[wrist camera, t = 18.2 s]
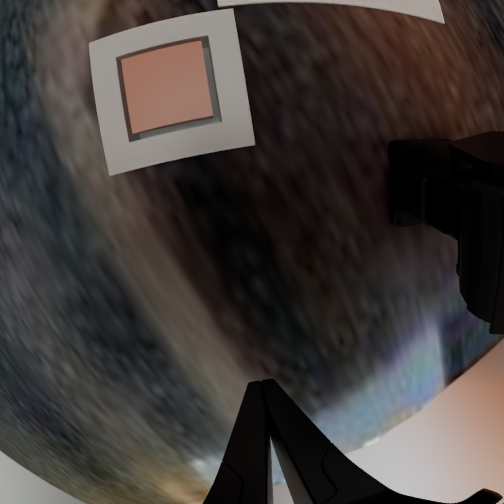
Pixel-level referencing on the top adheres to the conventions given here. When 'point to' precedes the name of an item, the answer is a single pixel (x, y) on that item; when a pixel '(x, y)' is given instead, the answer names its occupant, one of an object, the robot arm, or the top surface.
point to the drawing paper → (366, 6)
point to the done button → (167, 87)
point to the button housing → (182, 135)
